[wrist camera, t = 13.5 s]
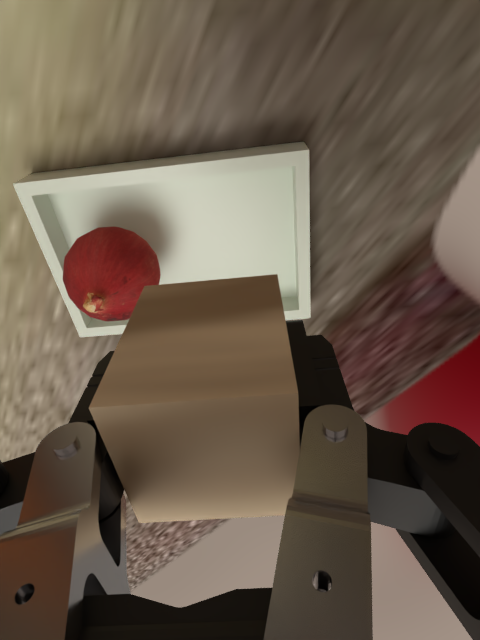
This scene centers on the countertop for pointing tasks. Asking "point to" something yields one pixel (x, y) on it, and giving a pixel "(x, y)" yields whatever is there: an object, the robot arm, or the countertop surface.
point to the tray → (186, 218)
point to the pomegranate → (109, 272)
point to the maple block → (203, 402)
